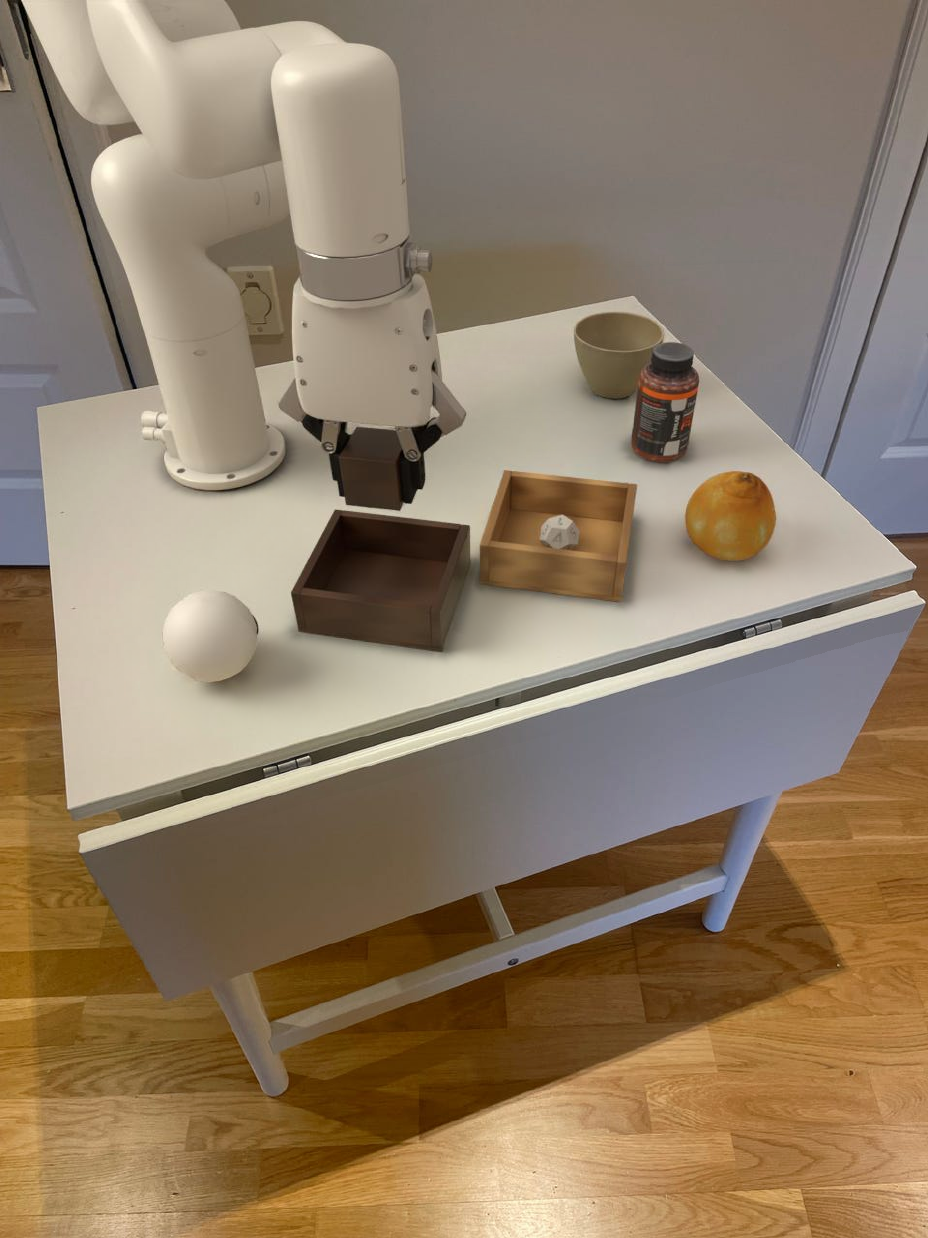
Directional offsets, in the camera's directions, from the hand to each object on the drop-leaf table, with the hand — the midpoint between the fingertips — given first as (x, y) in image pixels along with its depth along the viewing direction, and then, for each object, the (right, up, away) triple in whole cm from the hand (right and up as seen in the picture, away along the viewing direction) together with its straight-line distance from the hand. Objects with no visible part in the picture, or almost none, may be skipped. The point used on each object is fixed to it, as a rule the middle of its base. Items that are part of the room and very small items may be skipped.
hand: (380, 488), depth 73 cm
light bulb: (-14, -14, +3) cm, 20 cm away
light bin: (+16, -4, +12) cm, 20 cm away
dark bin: (0, -8, +8) cm, 11 cm away
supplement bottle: (+27, +7, +24) cm, 37 cm away
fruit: (+31, -4, +12) cm, 34 cm away
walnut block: (0, 0, 0) cm, 0 cm away
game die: (+16, -4, +11) cm, 20 cm away
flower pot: (+24, +16, +33) cm, 44 cm away
